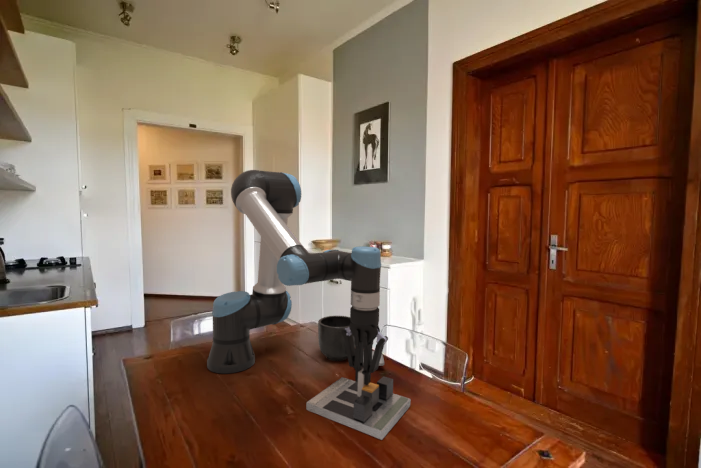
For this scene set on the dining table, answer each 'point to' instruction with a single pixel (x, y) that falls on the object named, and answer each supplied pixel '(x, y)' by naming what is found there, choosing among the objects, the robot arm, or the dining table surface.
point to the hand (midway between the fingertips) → (362, 394)
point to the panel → (354, 423)
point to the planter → (333, 337)
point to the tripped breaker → (371, 392)
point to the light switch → (380, 359)
